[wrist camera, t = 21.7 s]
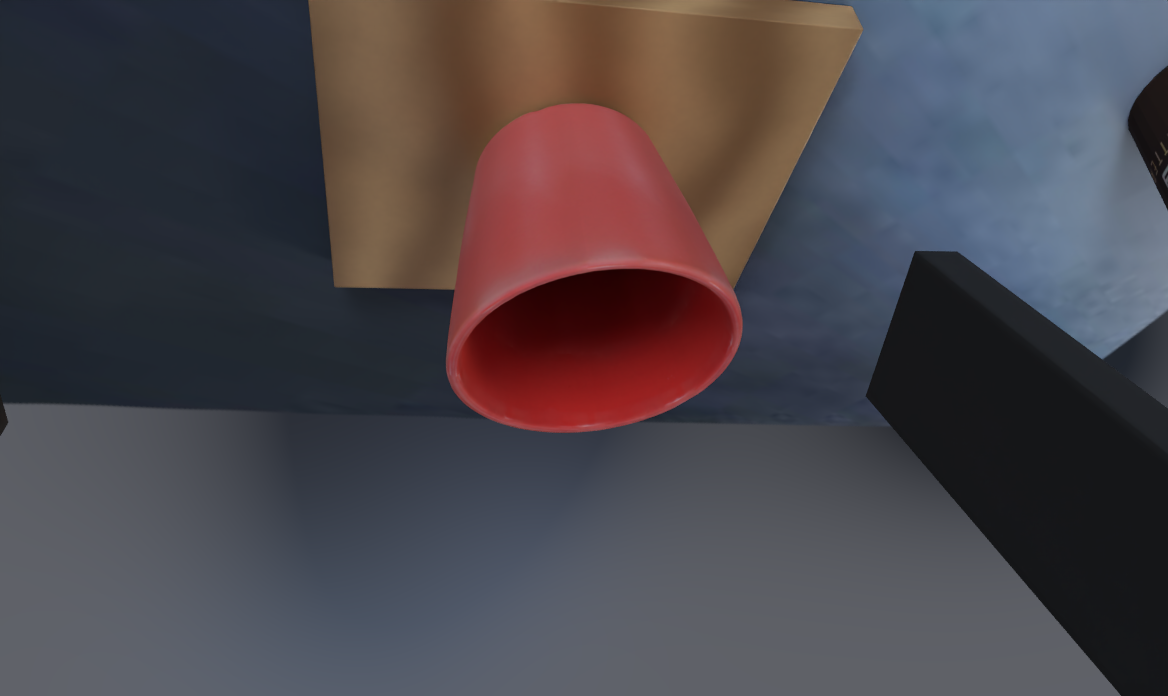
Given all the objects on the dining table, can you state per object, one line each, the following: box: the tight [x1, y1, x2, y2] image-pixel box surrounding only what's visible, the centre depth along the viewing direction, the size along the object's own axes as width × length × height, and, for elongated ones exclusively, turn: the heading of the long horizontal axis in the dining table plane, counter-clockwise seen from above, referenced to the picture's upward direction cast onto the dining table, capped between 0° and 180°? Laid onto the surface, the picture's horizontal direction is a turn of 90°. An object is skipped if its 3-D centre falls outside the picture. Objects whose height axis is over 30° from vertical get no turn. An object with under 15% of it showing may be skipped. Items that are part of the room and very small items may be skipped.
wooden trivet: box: [308, 0, 863, 289], centre depth 37 cm, size 20×16×2 cm
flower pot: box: [446, 103, 743, 433], centre depth 34 cm, size 11×11×10 cm
